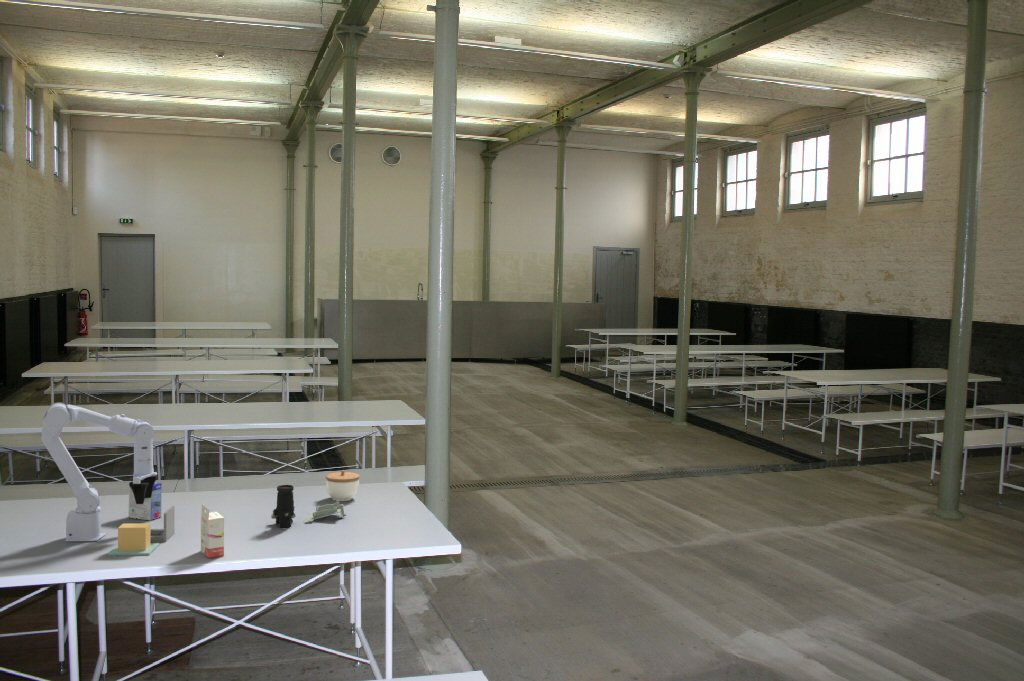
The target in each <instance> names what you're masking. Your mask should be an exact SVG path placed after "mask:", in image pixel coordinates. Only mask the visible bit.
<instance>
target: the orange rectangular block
mask: <svg viewBox="0 0 1024 681" xmlns="http://www.w3.org/2000/svg"><path fill="white" fill-rule="evenodd" d="M150 529H151V523H148V522H147V523H145V522H144V523H122V524H120V525H119V527H117V545H118V551H136V550H147V549H148V548H149V547H150V543H151V542H150V536H151V535H150Z"/></svg>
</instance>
